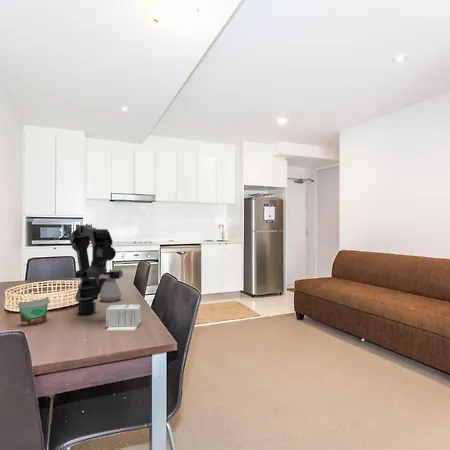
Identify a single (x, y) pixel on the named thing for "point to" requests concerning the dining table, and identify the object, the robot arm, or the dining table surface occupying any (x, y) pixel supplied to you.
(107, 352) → the dining table surface
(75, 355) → the dining table surface
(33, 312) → the food container
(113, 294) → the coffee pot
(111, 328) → the white flat slab
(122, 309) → the supplement box
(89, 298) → the robot arm
